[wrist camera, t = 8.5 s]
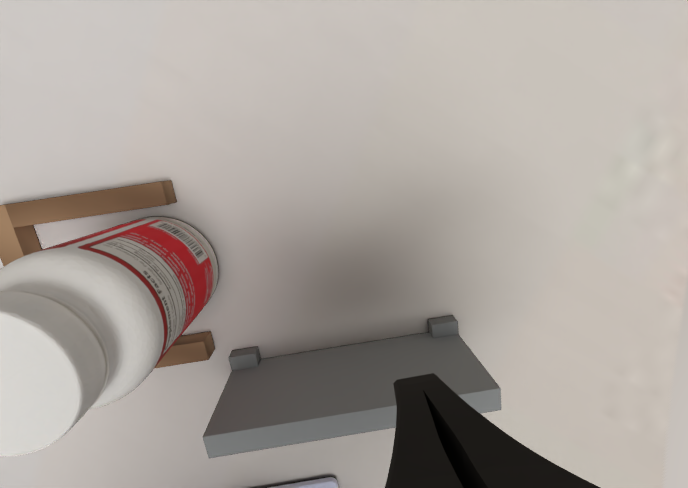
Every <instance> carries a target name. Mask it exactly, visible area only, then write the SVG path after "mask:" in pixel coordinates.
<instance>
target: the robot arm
mask: <svg viewBox="0 0 688 488" xmlns="http://www.w3.org/2000/svg"><path fill="white" fill-rule="evenodd" d="M393 385H394V392H395V398H396V405H397V415H396V431H395V439H394V446H393V453H392V459H391V464H390V469H389V473H388V478H387V482H386V486H385V488H600V487H598V486H596V485H594V484H592V483H590V482H588V481H586V480H584V479H582V478H580V477H578V476H576V475H574V474H572V473H570V472H569V471H567V470H565V469H563V468H561V467H559V466H557V465H555V464H554V463H552V462H550V461H548V460H547V459H545V458H543V457H542V456H540V455H538V454H537V453H535V452H533V451H532V450H530V449H529V448H527V447H525V446H524V445H522V444H521V443H519V442H518V441H516V440H515V439H513V438H512V437H510V436H509V435H508V434H506V433H505V432H503V431H502V430H501V429H499V428H498V427H497V426H495V425H494V424H492V423H491V422H490V421H489V420H487V419H486V418H485V417H483V416H482V415H481V414H480V413H479V412H477V411H476V410H475V409H474V408H472V407H471V406H470V405H469V404H468V403H466V402H465V401H464V400H463V399H462V398H461V397H460V396H458V395H457V394H456V393H455V392H454V391H453V390H452V389H451V388H450V387H448V386H447V385H446V384H445V383H444V382H443V381H442V380H441V379H440V378H439V377H438V376H437V375H435V374H434V373H431V374H426V375H420V376H414V377H409V378H403V379H398V380H396V381H395V382H394V383H393ZM269 488H339V486H338V482H337V480H336V479H335V478H333V477H328V478H322V479H317V480H311V481H305V482H299V483H293V484H287V485H281V486H275V487H269Z"/></svg>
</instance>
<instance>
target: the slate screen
mask: <svg viewBox="0 0 688 488" xmlns="http://www.w3.org/2000/svg"><path fill="white" fill-rule="evenodd" d="M428 325H429V332H428V333H422V334H415V335H409V336H403V337H397V338H390V339H384V340H378V341H372V342H365V343H359V344H353V345H347V346H340V347H334V348H328V349H322V350H315V351H309V352H303V353H297V354H290V355H284V356H278V357H272V358H265V359H260V355H259V351H258V347H252V348H245V349H239V350H233V351H232V352H231V354H230V356H229V361H230V365H231V369H232V372H231V374H230V376H229V379H228V381H227V383H226V385H225V388H224V390H223V392H222V394H221V397H220V399H219V401H218V404H217V406H216V408H215V410H214V413H213V415H212V417H211V419H210V422H209V424H208V426H207V428H206V431H205V433H204V435H203V440H204V443H205V447H206V450H207V454H208V457H209V458H214V457H220V456H226V455H232V454H238V453H244V452H250V451H256V450H262V449H268V448H274V447H280V446H286V445H292V444H298V443H304V442H310V441H317V440H323V439H329V438H335V437H341V436H347V435H353V434H359V433H365V432H371V431H377V430H383V429H389V428H395V427H396V415H397V405H396V398H395V392H394V385H393V383H394V382H395V381H396V380H398V379H403V378H409V377H414V376H420V375H426V374H431V373H434V374H435V375H437V376H438V377H439V378H440V379H441V380H442V381H443V382H444V383H445V384H446V385H447V386H448V387H450V388H451V389H452V390H453V391H454V392H455V393H456V394H457V395H458V396H460V397H461V398H462V399H463V400H464V401H465V402H466V403H468V404H469V405H470V406H471V407H472V408H474V409H475V410H476V411H477V412H479V413H486V412H492V411H498V410H501V390H500V387H499V386H498V384H497V383H496V382H495V381H494V379H493V378H492V377H491V375H490V374H489V373H488V372H487V370H486V369H485V368H484V366H483V365H482V364H481V363H480V361H479V360H478V359H477V357H476V356H475V355H474V354H473V352H472V351H471V350H470V348H469V347H468V346H467V345H466V343H465V342H464V341H463V339H462V338H461V337H460V336H459V333H458V321H457V320H456V319H455V317H454V316H446V317H440V318H434V319H428Z"/></svg>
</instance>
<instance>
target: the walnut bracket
mask: <svg viewBox="0 0 688 488" xmlns="http://www.w3.org/2000/svg"><path fill="white" fill-rule="evenodd" d="M175 202H177V201H176V197H175V193H174V190H173V186H172V182H171V180H170V181H162V182H155V183H148V184H141V185H135V186H128V187H121V188H114V189H108V190H101V191H94V192H88V193H81V194H74V195H67V196H61V197H54V198H47V199H40V200H34V201H27V202H20V203H14V204H7V205H0V258H1V261H2V263H3V266H6V265H8V264H9V263H11V262H13V261H15V260H17V259H19V258H21V257H23V256H26V255H29V254H31V253H34V252H36V251H40V250H42V249H41V247H40V244H39V241H38V238H37V236H36V233H35V230H34V227H33V225H35V224H41V223H48V222H55V221H61V220H68V219H75V218H81V217H88V216H95V215H101V214H108V213H114V212H121V211H128V210H134V209H141V208H148V207H154V206H161V205H168V204H171V203H175ZM214 350H215V347H214V343H213V339H212V336H211V332H204V333H197V334H191V335H185V336H180V337H179V338H178V340H177V341H176V342H175V343H174V344H173V346H172V347H171V348H170V349H169V351H168V352H167V353H166V354H165V356H164V357H163V358H162V359H161V360H160V362H159V363H158V364H157V366H156V367H155V368H159V367H166V366H172V365H178V364H184V363H191V362H197V361H203V360H209V358H210V357H211V355H212V353H213V351H214Z"/></svg>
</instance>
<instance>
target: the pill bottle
mask: <svg viewBox="0 0 688 488" xmlns="http://www.w3.org/2000/svg"><path fill="white" fill-rule="evenodd" d="M217 280H218V264H217V260H216V256H215V254H214V251H213V249H212V248H211V246H210V244H209V243H208V241H207V240H206V239H205V238H204V237H203V236H202V235H201V234H200V233H199V232H198V231H197V230H196V229H194V228H193V227H191V226H189V225H188V224H186V223H184V222H181V221H179V220H176V219H172V218H167V217H147V218H142V219H138V220H134V221H131V222H128V223H125V224H122V225H118V226H115V227H112V228H109V229H106V230H103V231H100V232H97V233H94V234H91V235H88V236H84V237H81V238H78V239H75V240H72V241H68V242H65V243H62V244H59V245H55V246H52V247H49V248H46V249H43V250H40V251H36V252H34V253H31V254H29V255H26V256H23V257H21V258H19V259H17V260H15V261H13V262H11V263H9V264H8V265H6V266H4V267H3V268H1V269H0V457H6V456H19V455H24V454H29V453H32V452H36V451H39V450H41V449H43V448H45V447H47V446H49V445H51V444H53V443H55V442H56V441H57V440H59V439H60V438H61V437H63V436H64V435H65V434H66V433H67V432H68V431H69V430H70V429H71V428H72V427H73V426H74V425H75V424H76V423H77V422H78V421H79V420H80V418H81V417H82V416H83V415H84V414H85V413H86V412H87V411H88V410H89V409H94V408H99V407H102V406H105V405H108V404H110V403H113V402H115V401H117V400H119V399H121V398H122V397H124V396H126V395H127V394H129V393H130V392H132V391H133V390H134V389H135V388H136V387H138V386H139V385H140V384H141V383H142V382H143V381H144V379H145V378H146V377H147V376H148V375H149V374H150V373H151V372H152V370H153V369H154V368H155V367H156V366H157V364H158V363H159V362H160V360H161V359H162V358H163V357H164V356H165V354H166V353H167V352H168V351H169V349H170V348H171V347H172V346H173V344H174V343H175V342H176V341H177V340H178V338H179V337H180V336H181V335H182V333H183V332H184V331H185V330H186V329H187V327H188V326H189V325H190V324H191V322H192V321H193V320H194V319H195V317H196V316H197V315H198V314H199V312H200V311H201V310H202V309H203V307H204V306H205V305H206V304H207V302H208V301H209V299H210V298H211V296H212V295H213V292H214V290H215V288H216V285H217Z"/></svg>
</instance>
